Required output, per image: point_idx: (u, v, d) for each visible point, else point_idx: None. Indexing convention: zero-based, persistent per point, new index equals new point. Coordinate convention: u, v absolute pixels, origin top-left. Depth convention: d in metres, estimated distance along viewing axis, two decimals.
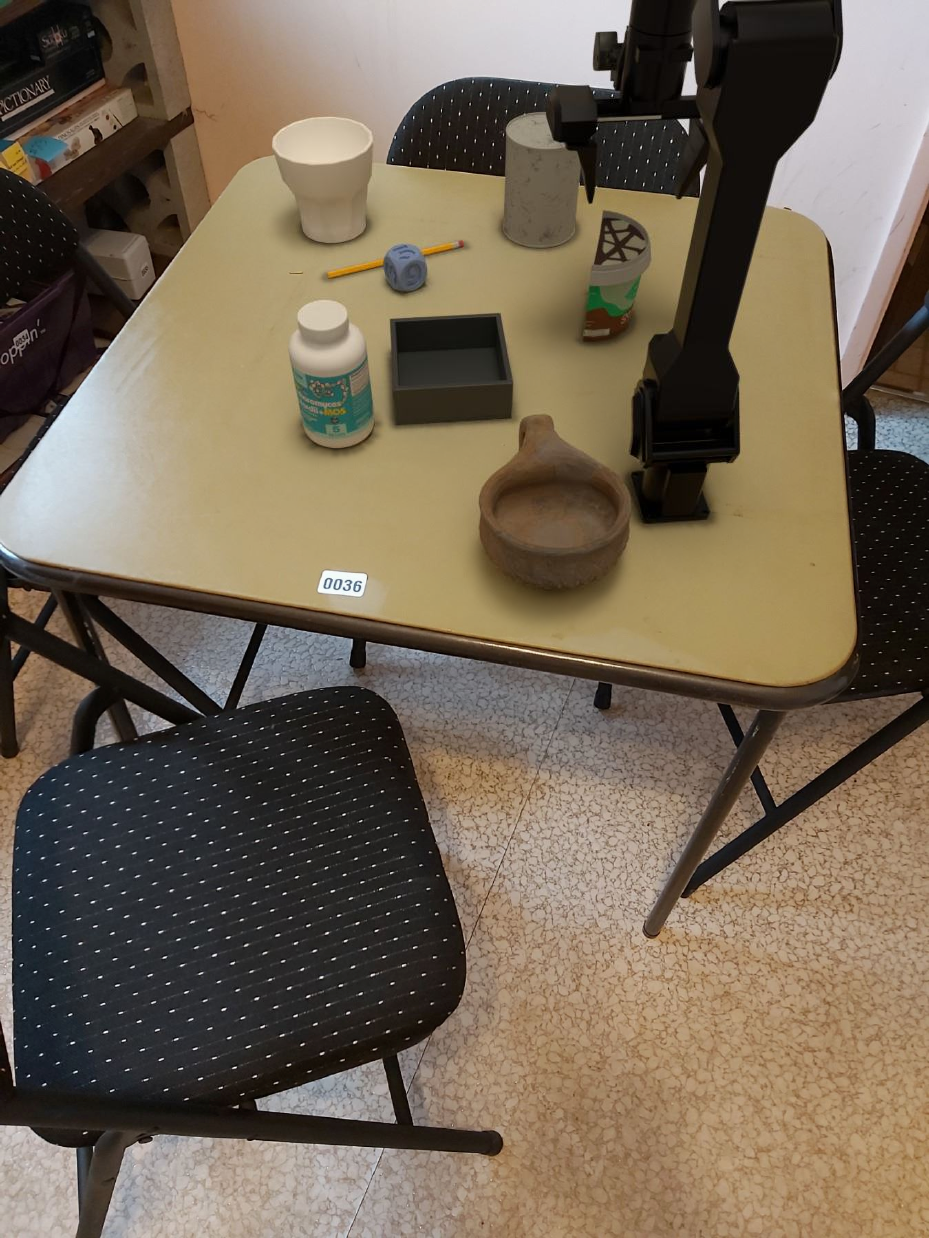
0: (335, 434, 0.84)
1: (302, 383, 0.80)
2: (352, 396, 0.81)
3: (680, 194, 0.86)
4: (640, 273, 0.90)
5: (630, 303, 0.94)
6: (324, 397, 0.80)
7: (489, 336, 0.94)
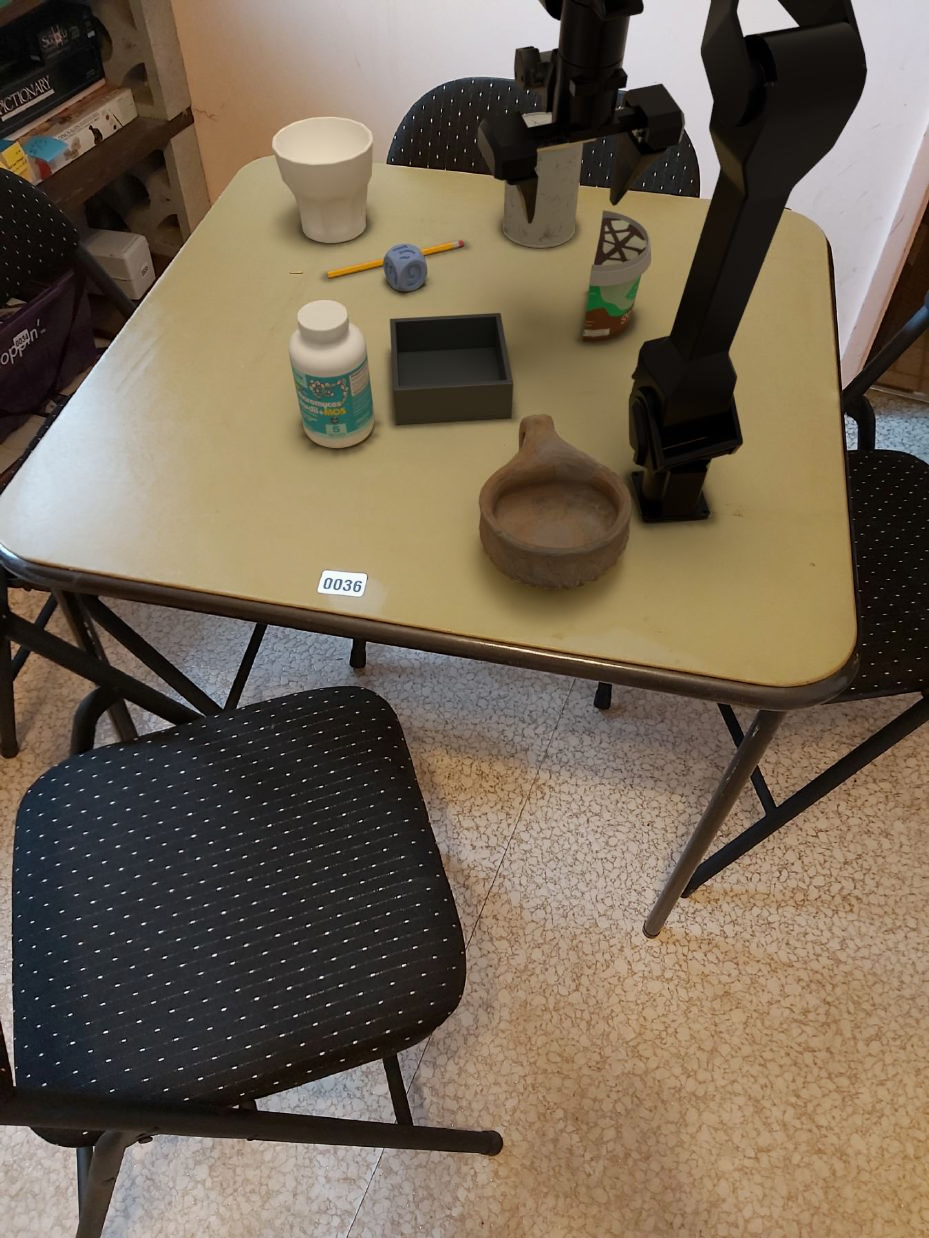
0: (335, 434, 0.84)
1: (302, 383, 0.80)
2: (352, 396, 0.81)
3: (616, 201, 0.85)
4: (640, 273, 0.90)
5: (630, 303, 0.94)
6: (324, 397, 0.80)
7: (489, 336, 0.94)
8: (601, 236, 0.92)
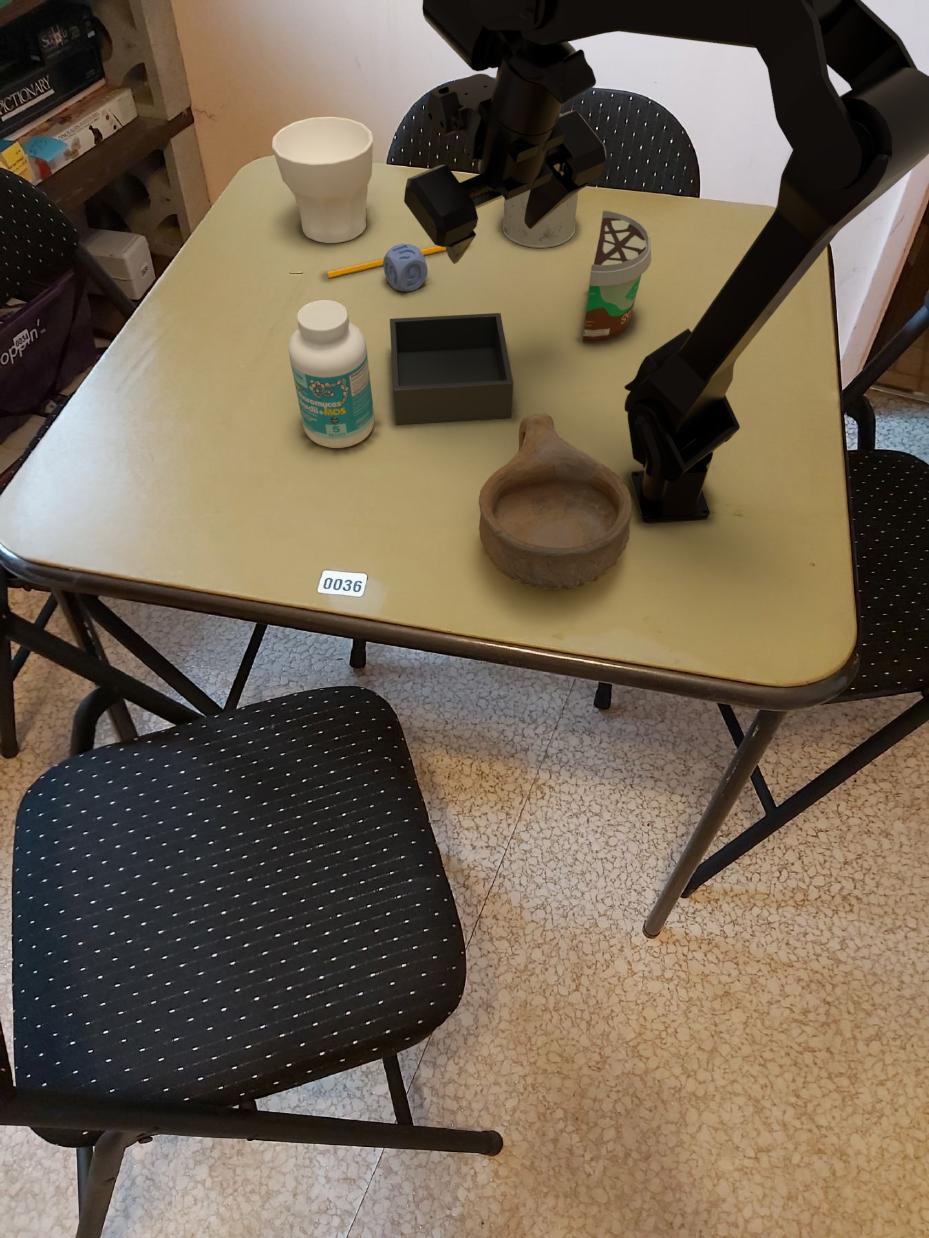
0: (335, 434, 0.84)
1: (302, 383, 0.80)
2: (352, 396, 0.81)
3: (533, 225, 0.83)
4: (640, 273, 0.90)
5: (630, 303, 0.94)
6: (324, 397, 0.80)
7: (489, 336, 0.94)
8: (601, 236, 0.92)
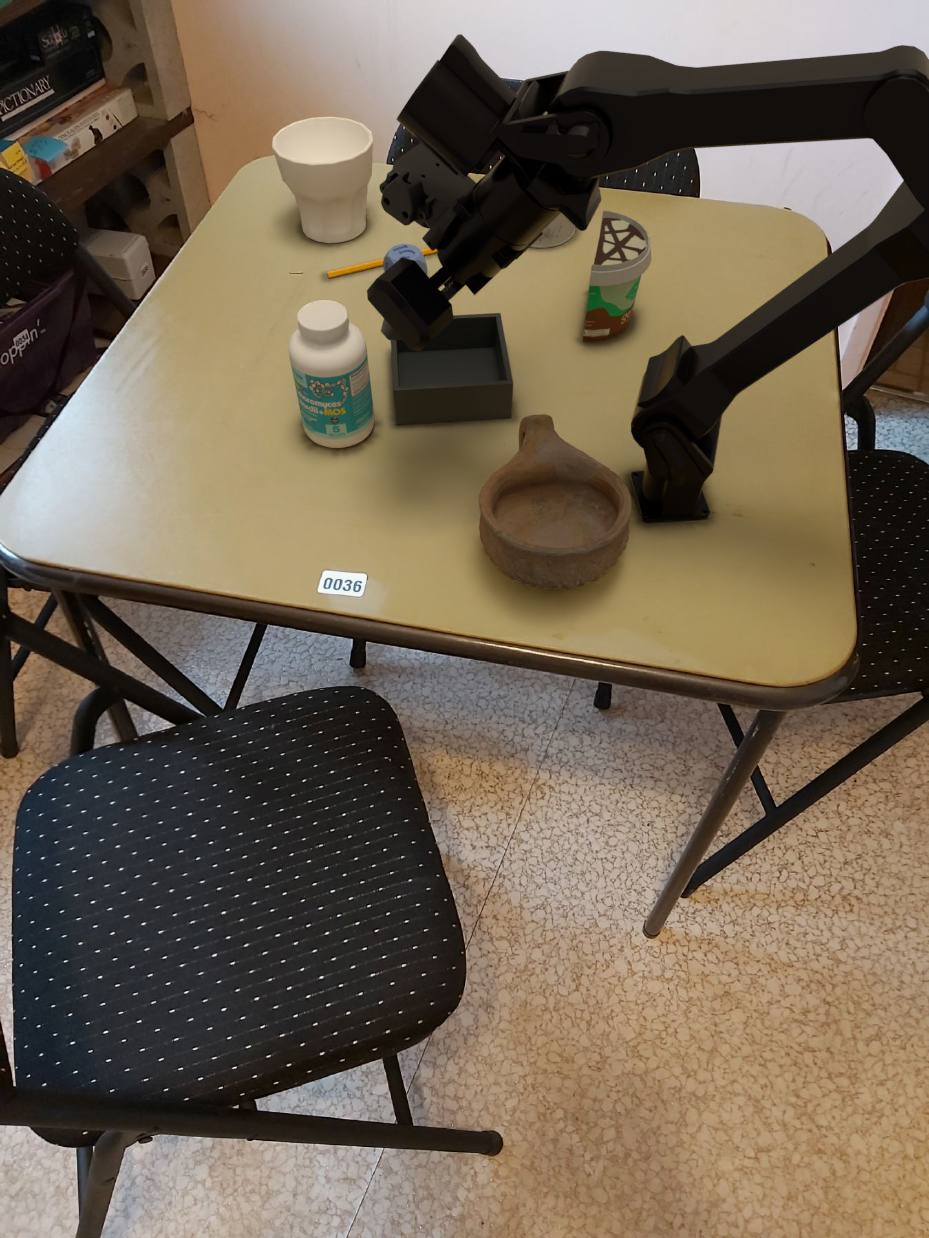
0: (335, 434, 0.84)
1: (302, 383, 0.80)
2: (352, 396, 0.81)
3: None
4: (640, 273, 0.90)
5: (630, 303, 0.94)
6: (324, 397, 0.80)
7: (489, 336, 0.94)
8: (601, 236, 0.92)
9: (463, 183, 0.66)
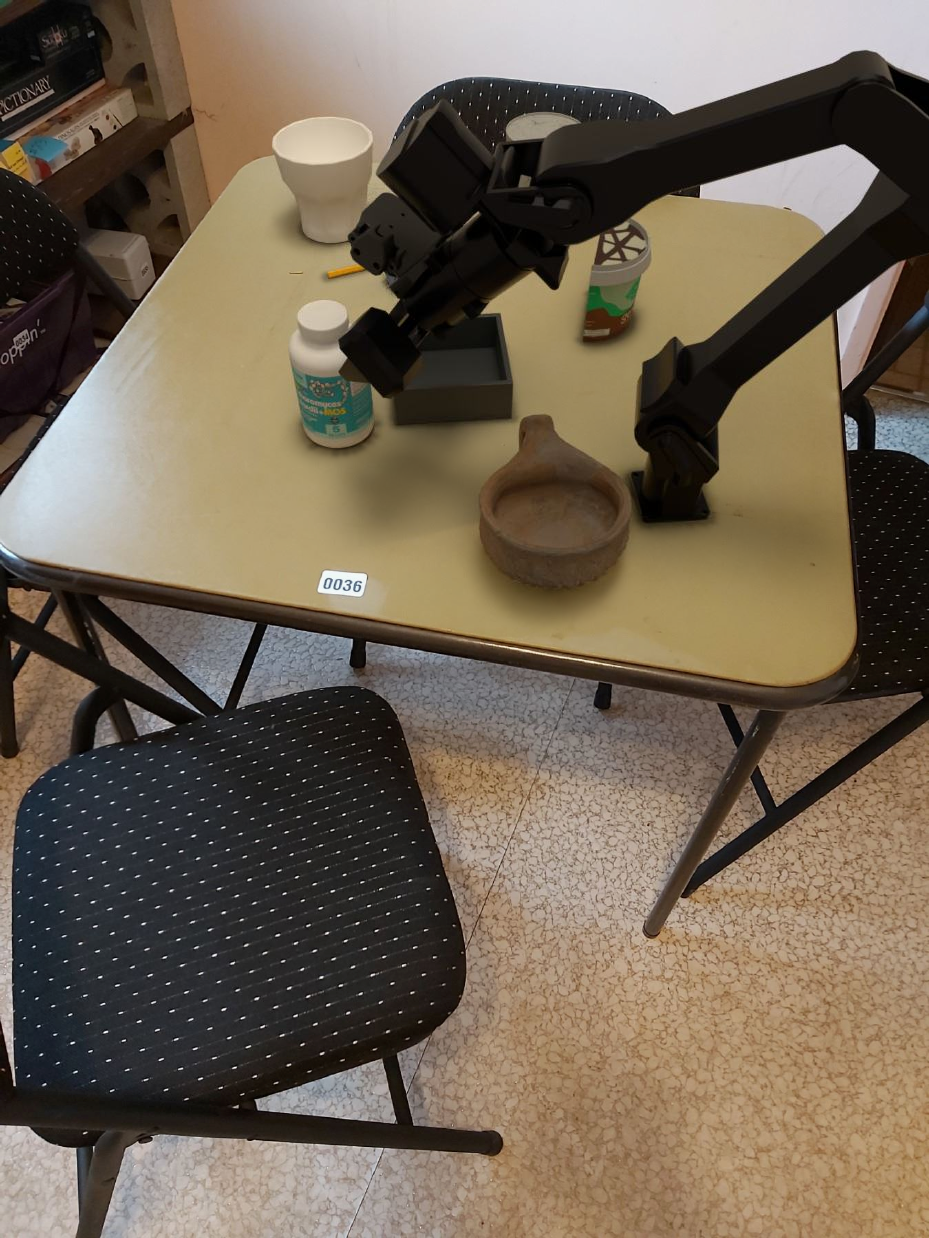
0: (335, 434, 0.84)
1: (302, 383, 0.80)
2: (352, 396, 0.81)
3: None
4: (640, 273, 0.90)
5: (630, 303, 0.94)
6: (324, 397, 0.80)
7: (489, 336, 0.94)
8: (601, 236, 0.92)
9: (429, 234, 0.67)
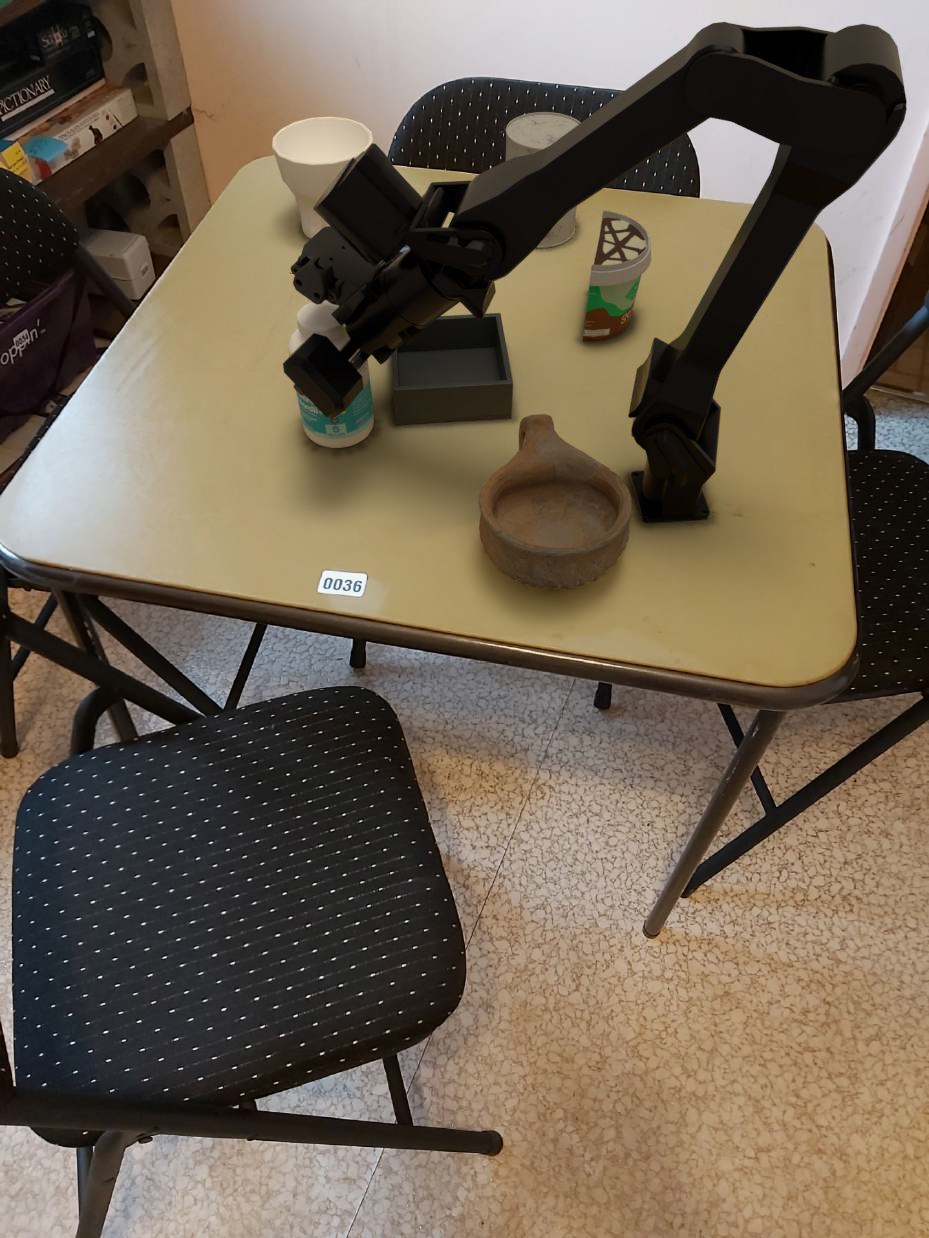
0: (334, 434, 0.84)
1: None
2: None
3: None
4: (640, 273, 0.90)
5: (630, 303, 0.94)
6: None
7: (489, 336, 0.94)
8: (601, 236, 0.92)
9: (368, 265, 0.72)
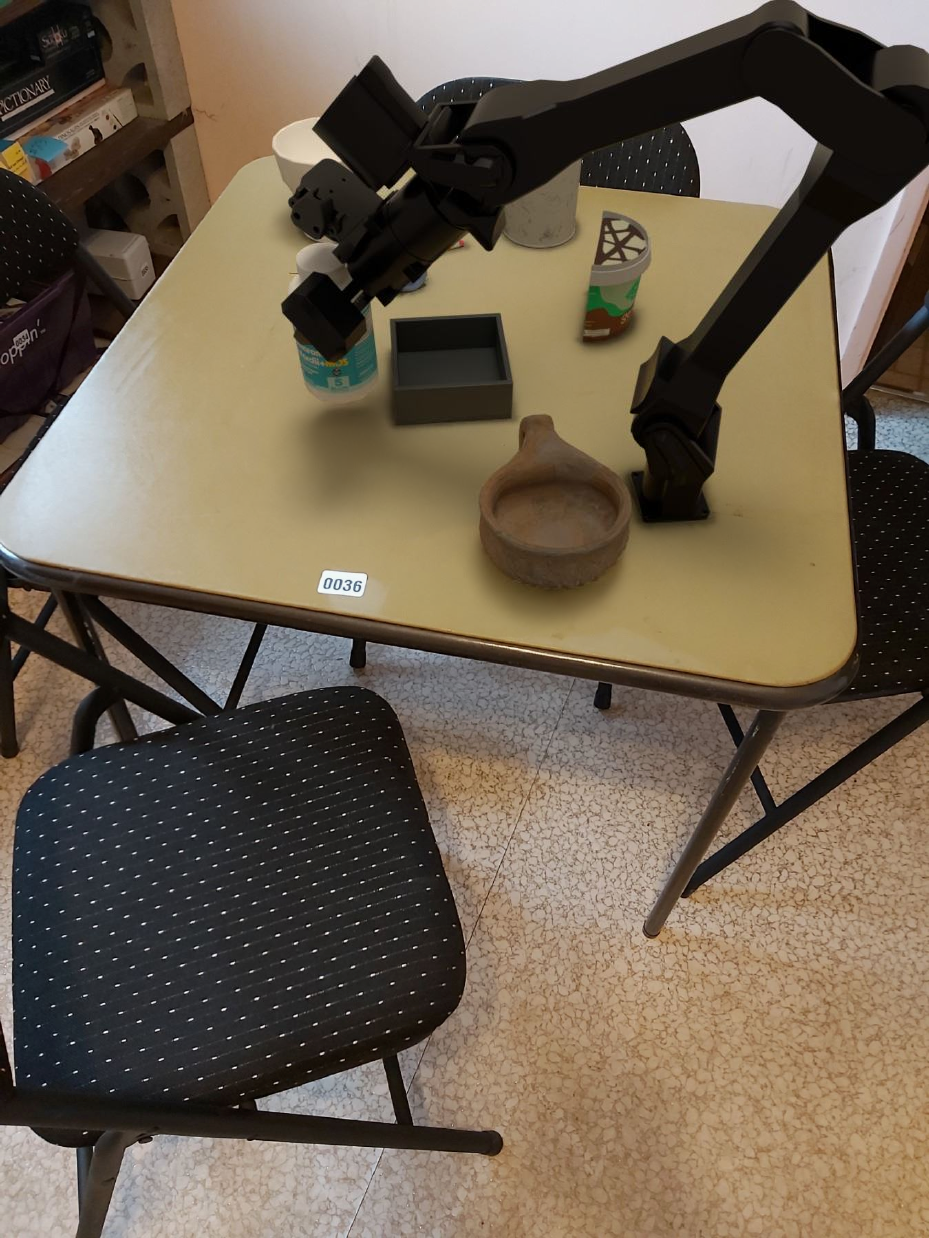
0: (337, 388, 0.80)
1: None
2: (355, 346, 0.77)
3: None
4: (640, 273, 0.90)
5: (630, 303, 0.94)
6: None
7: (489, 336, 0.94)
8: (601, 236, 0.92)
9: (370, 199, 0.68)
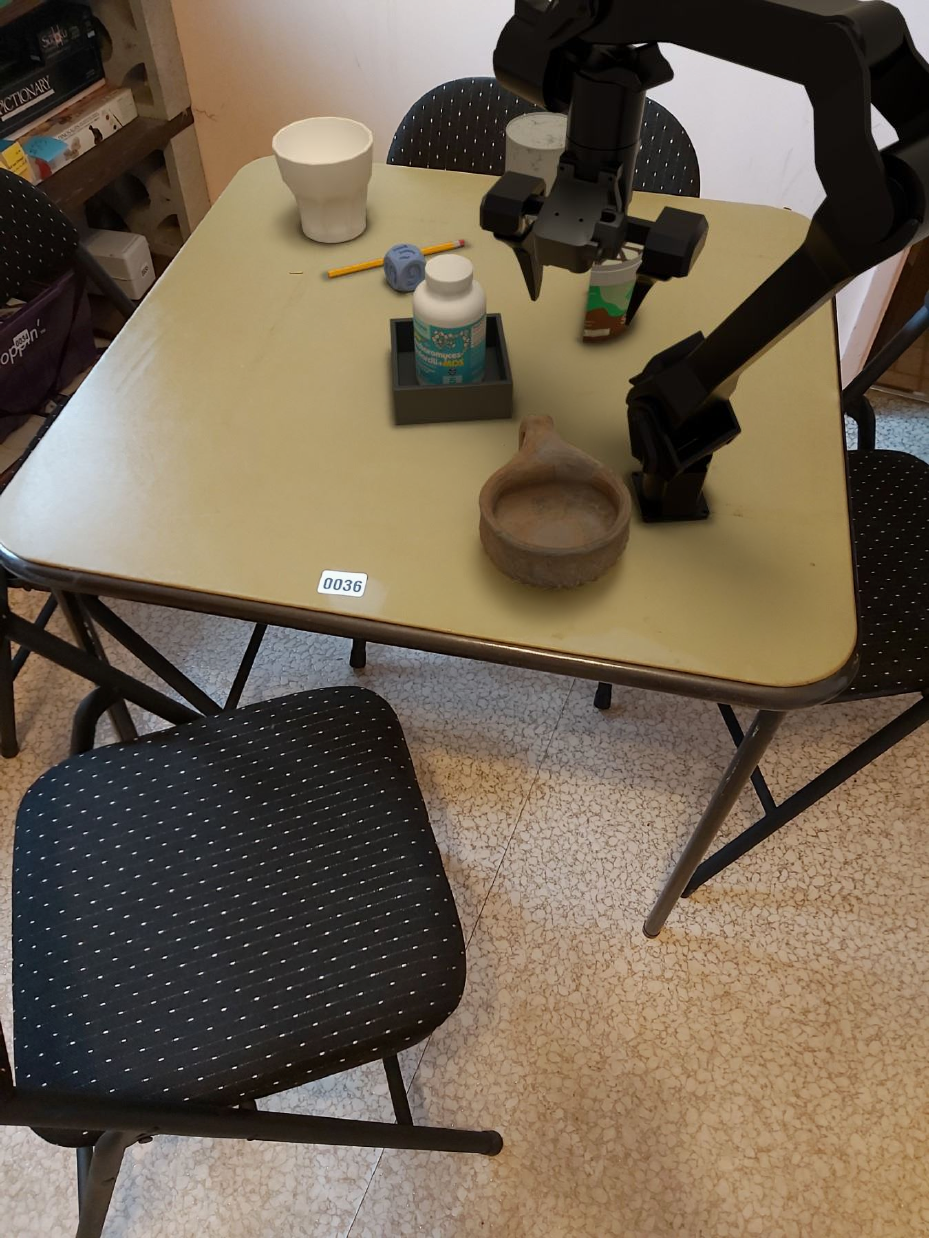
0: None
1: (425, 334, 0.83)
2: (471, 348, 0.84)
3: None
4: None
5: None
6: (445, 348, 0.84)
7: (489, 336, 0.94)
8: None
9: (569, 189, 0.66)
